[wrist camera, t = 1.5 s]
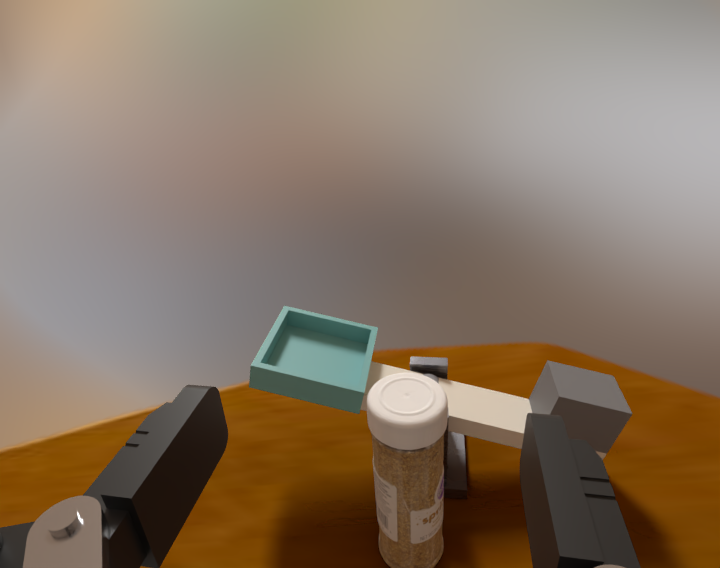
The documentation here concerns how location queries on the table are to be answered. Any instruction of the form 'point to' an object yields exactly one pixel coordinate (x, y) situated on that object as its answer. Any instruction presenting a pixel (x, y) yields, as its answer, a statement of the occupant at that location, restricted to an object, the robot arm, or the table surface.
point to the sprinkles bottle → (408, 467)
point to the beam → (465, 402)
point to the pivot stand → (447, 435)
